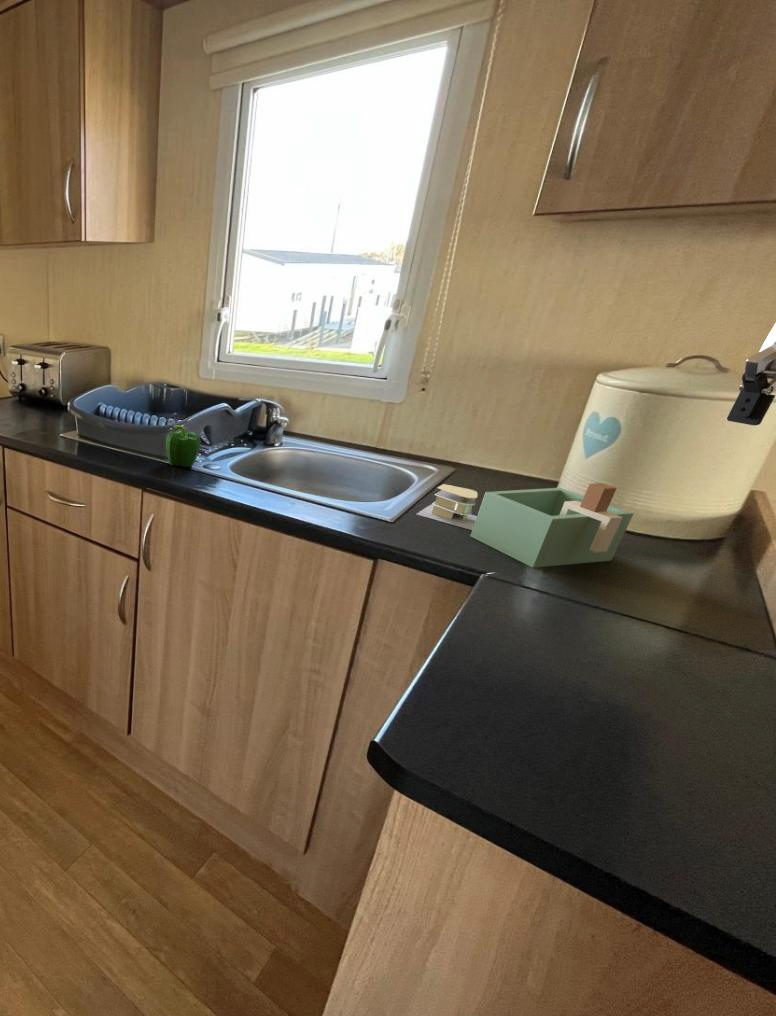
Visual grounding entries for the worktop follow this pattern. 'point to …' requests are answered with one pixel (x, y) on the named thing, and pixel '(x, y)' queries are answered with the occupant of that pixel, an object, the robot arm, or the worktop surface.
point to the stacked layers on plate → (452, 506)
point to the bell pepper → (182, 447)
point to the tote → (542, 527)
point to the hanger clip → (597, 513)
